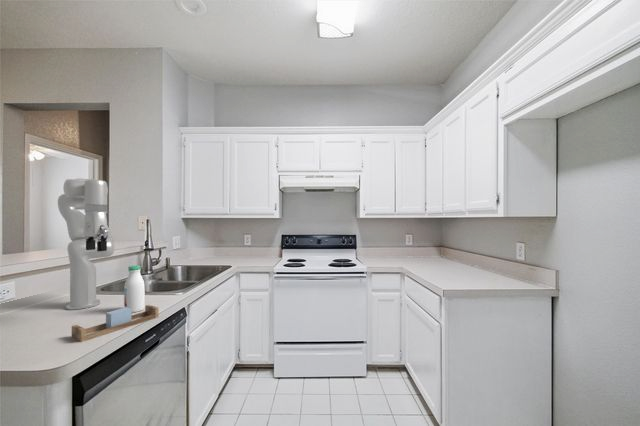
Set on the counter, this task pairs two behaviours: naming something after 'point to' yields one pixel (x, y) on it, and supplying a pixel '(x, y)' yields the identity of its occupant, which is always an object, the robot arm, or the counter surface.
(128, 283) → the milk bottle
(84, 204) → the robot arm
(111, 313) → the pale blue upright box
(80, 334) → the bottom track
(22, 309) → the counter surface
